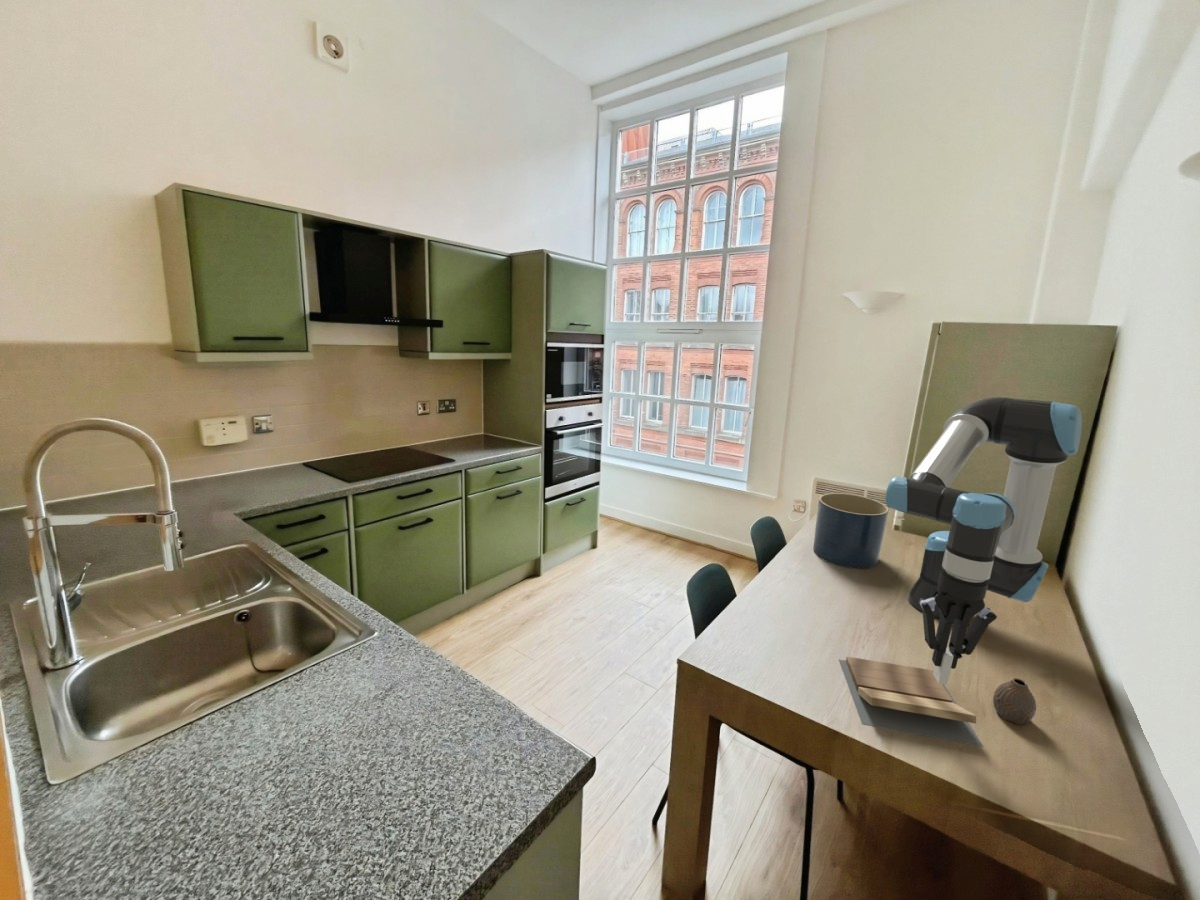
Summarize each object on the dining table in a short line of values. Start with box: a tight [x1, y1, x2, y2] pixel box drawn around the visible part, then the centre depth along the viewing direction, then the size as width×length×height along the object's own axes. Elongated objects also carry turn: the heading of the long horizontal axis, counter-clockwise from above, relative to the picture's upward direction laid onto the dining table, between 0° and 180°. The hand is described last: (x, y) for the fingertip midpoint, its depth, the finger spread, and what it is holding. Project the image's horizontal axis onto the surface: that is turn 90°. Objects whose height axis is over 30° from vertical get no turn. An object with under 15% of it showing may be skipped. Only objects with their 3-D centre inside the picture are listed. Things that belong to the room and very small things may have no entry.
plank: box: [858, 687, 977, 724], centre depth 103 cm, size 19×9×2 cm, turn 77°
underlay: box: [838, 659, 984, 748], centre depth 109 cm, size 22×21×1 cm
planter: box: [813, 492, 889, 570], centre depth 177 cm, size 22×22×20 cm
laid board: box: [845, 656, 953, 703], centre depth 113 cm, size 19×10×2 cm, turn 77°
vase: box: [992, 677, 1037, 725], centre depth 104 cm, size 7×7×9 cm
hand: (940, 679), depth 100 cm, fingers closed
